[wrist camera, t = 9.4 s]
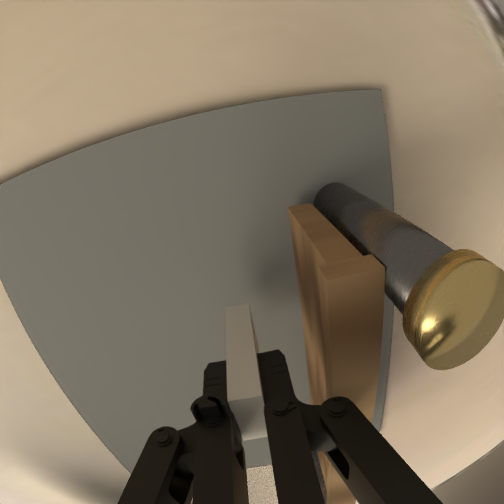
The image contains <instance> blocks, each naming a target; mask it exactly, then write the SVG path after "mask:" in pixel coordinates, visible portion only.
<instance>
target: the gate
mask: <svg viewBox="0 0 504 504" xmlns="http://www.w3.org/2000/svg"><path fill="white" fill-rule="evenodd" d="M288 214H289V220H290V227H291V235H292V242H293V249H294V257H295V264H296V272H297V280H298V288H299V296H300V304H301V313H302V321H303V330H304V340H305V349H306V359H307V369H308V379H309V390H310V401H311V405H322V403H323V402H324V401H326V400H327V399H329V398H332V397H337V396H342V397H346V398H348V399H350V400H351V401H352V402H353V403H354V404H355V405H356V406H357V407H358V409H359V410H360V411H361V412H362V413H363V414H364V415H365V417H366V418H367V419H368V420H369V421H370V422H371V424H372V420H373V414H374V407H375V400H376V392H377V384H378V376H379V367H380V356H381V345H382V332H383V316H384V292H385V267H384V266H383V265H382V264H381V263H380V262H379V261H378V260H377V259H376V258H375V257H374V256H373V255H372V254H370V255H366V256H363V255H362V254H361V253H360V252H359V251H358V250H357V249H356V248H355V247H354V246H353V245H352V244H351V243H350V242H349V241H348V240H347V239H346V238H345V237H344V236H343V235H342V234H341V233H340V232H339V231H338V230H337V229H336V228H335V227H334V226H333V225H332V224H331V223H330V222H329V221H328V220H327V219H326V218H325V217H324V216H323V215H322V214H321V213H320V212H319V211H318V210H317V209H316V208H315V207H314V206H313V205H312V204H311V203H307V204H302V205H296V206H290V207H288ZM317 454H318V458H319V462H320V466H321V470H322V473H323V477H324V481H325V485H326V489H327V504H355V502H356V498H355V497H354V495H353V494H352V493H351V491H350V490H349V488H348V487H347V486H346V484H345V483H344V481H343V480H342V478H341V477H340V476H339V474H338V473H337V471H336V470H335V468H334V467H333V465H332V464H331V462H330V461H329V459H328V458H327V457H326V455H325V454H324V452H322V451H317Z"/></svg>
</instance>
